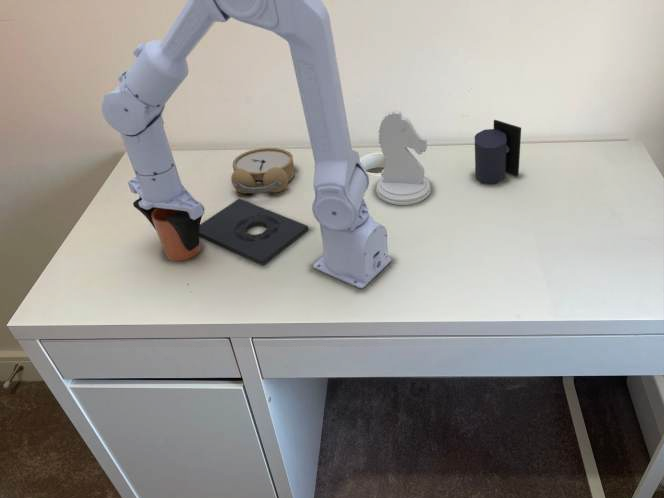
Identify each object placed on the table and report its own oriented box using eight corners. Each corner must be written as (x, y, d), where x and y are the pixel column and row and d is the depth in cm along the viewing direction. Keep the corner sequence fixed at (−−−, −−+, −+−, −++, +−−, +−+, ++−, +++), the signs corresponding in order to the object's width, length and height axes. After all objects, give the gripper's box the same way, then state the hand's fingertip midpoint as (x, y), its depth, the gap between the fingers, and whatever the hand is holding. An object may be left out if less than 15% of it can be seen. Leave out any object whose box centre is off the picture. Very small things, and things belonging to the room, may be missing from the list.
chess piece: (427, 206, 100) (429, 126, 90) (372, 203, 101) (367, 124, 91) (433, 177, 107) (434, 100, 97) (381, 174, 108) (377, 98, 98)
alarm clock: (296, 146, 112) (285, 173, 99) (299, 170, 114) (289, 200, 101) (239, 148, 112) (220, 175, 99) (243, 172, 114) (225, 202, 102)
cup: (208, 246, 93) (196, 208, 88) (181, 265, 90) (167, 226, 85) (184, 235, 96) (172, 197, 91) (158, 253, 93) (143, 215, 88)
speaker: (499, 161, 110) (502, 113, 102) (519, 176, 106) (523, 127, 99) (467, 176, 108) (467, 128, 100) (485, 191, 104) (488, 142, 97)
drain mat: (308, 229, 96) (307, 225, 95) (263, 265, 89) (262, 261, 89) (240, 202, 103) (239, 198, 102) (193, 233, 96) (192, 229, 96)
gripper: (99, 164, 83) (130, 239, 93) (165, 192, 77) (191, 269, 86) (139, 144, 88) (165, 217, 97) (204, 169, 81) (225, 245, 90)
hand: (180, 240), depth 92 cm, fingers closed on cup, 5 cm apart
